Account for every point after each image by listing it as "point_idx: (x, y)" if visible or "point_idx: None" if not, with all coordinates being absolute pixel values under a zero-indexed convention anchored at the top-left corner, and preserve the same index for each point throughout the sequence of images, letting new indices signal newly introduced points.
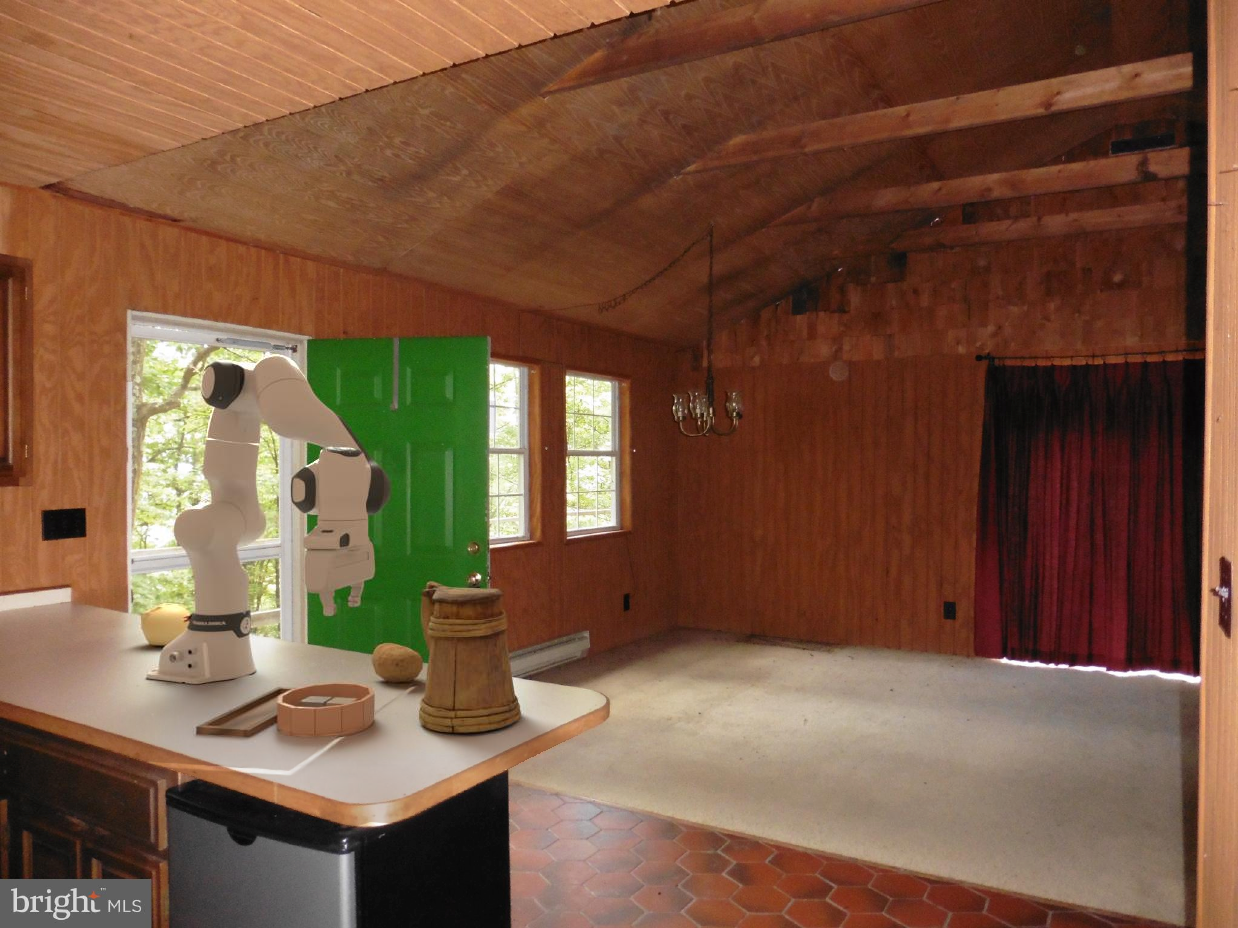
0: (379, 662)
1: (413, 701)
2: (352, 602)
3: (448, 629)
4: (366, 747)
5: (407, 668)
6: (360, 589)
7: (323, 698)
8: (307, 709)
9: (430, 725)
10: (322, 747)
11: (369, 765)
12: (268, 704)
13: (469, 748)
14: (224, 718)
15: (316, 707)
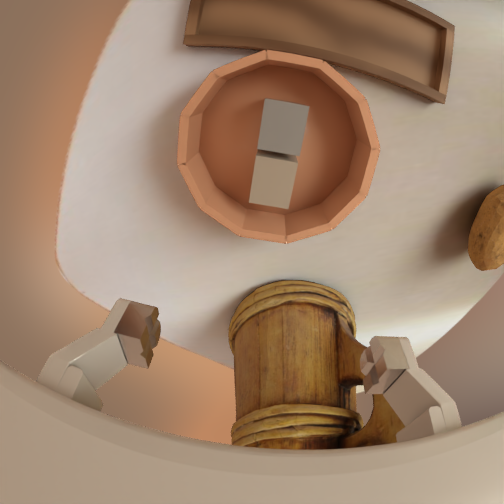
0: (500, 204)
1: (393, 250)
2: (373, 359)
3: (234, 434)
4: (176, 233)
5: (471, 248)
6: (404, 418)
7: (289, 140)
8: (178, 149)
9: (247, 299)
10: (166, 174)
11: (123, 252)
12: (382, 15)
13: (194, 331)
14: None
15: (185, 164)
